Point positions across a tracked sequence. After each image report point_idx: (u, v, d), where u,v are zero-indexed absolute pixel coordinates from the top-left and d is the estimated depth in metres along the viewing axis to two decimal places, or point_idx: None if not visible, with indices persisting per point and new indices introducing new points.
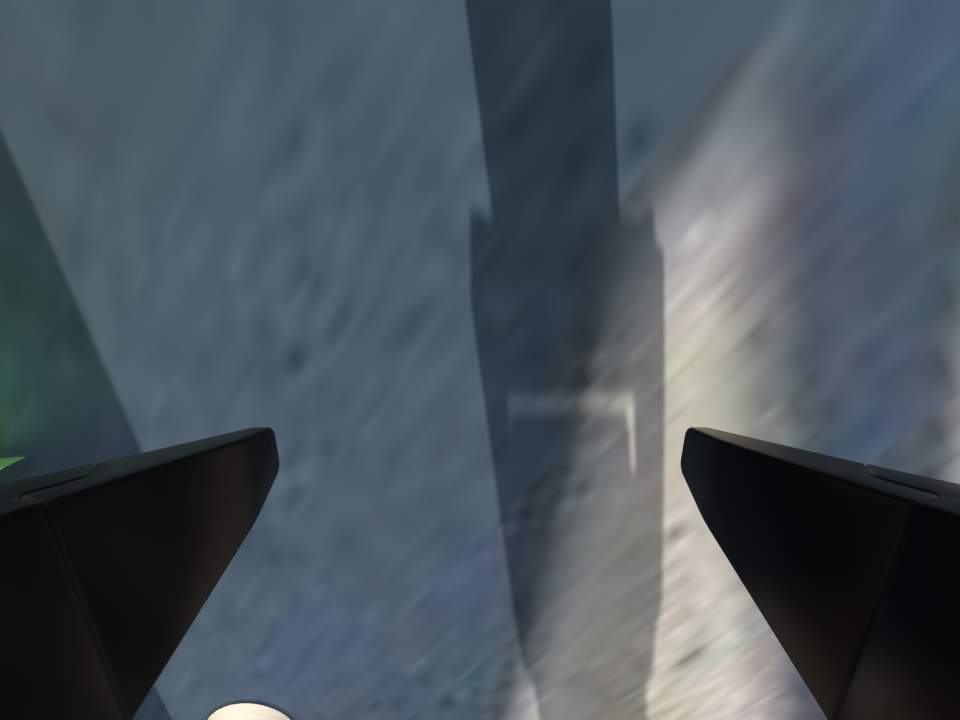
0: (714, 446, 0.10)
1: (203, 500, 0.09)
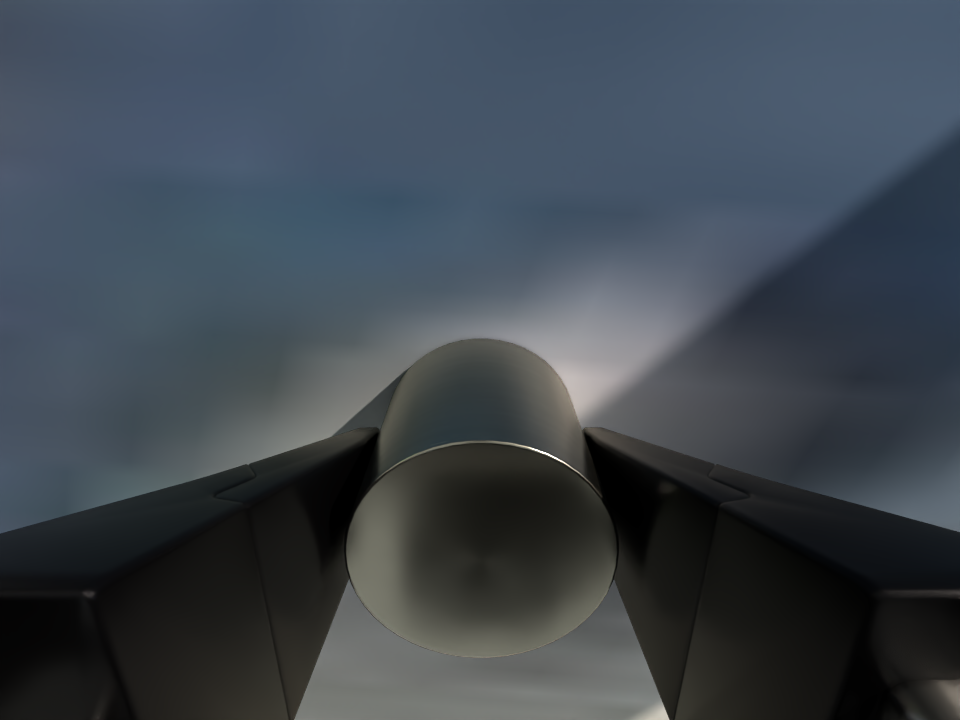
0: (596, 446, 0.10)
1: (340, 500, 0.09)
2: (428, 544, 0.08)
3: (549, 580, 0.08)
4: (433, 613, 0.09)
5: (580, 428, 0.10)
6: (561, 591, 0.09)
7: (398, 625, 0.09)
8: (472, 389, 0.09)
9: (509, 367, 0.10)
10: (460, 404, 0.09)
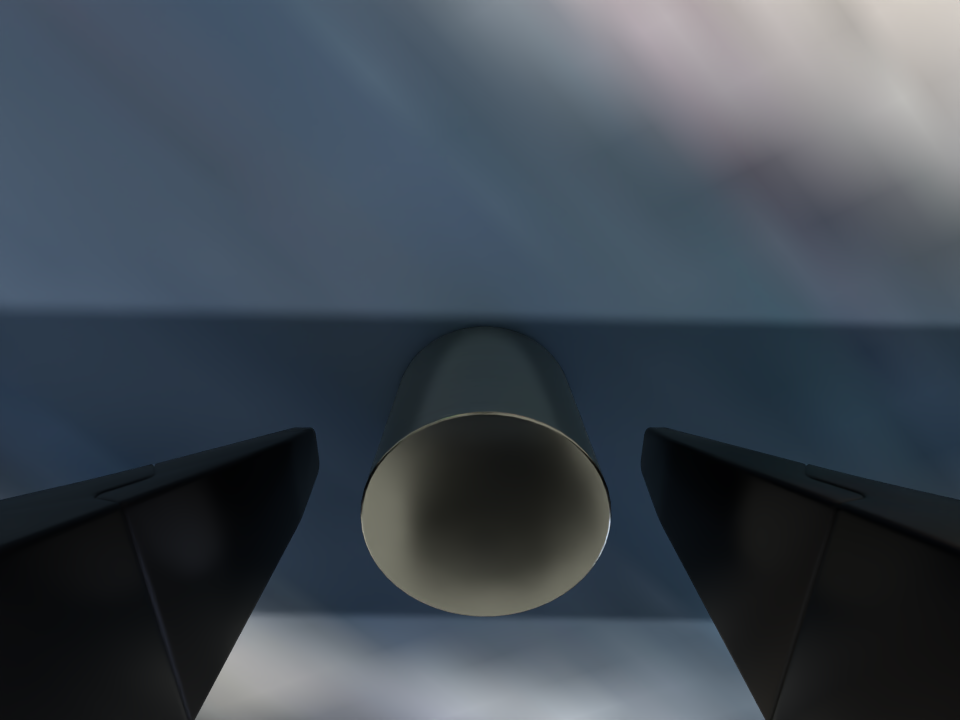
0: (667, 446, 0.10)
1: (256, 500, 0.09)
2: (438, 508, 0.09)
3: (547, 542, 0.09)
4: (441, 574, 0.10)
5: (576, 408, 0.11)
6: (558, 553, 0.09)
7: (409, 585, 0.10)
8: (477, 369, 0.10)
9: (510, 350, 0.11)
10: (466, 382, 0.09)
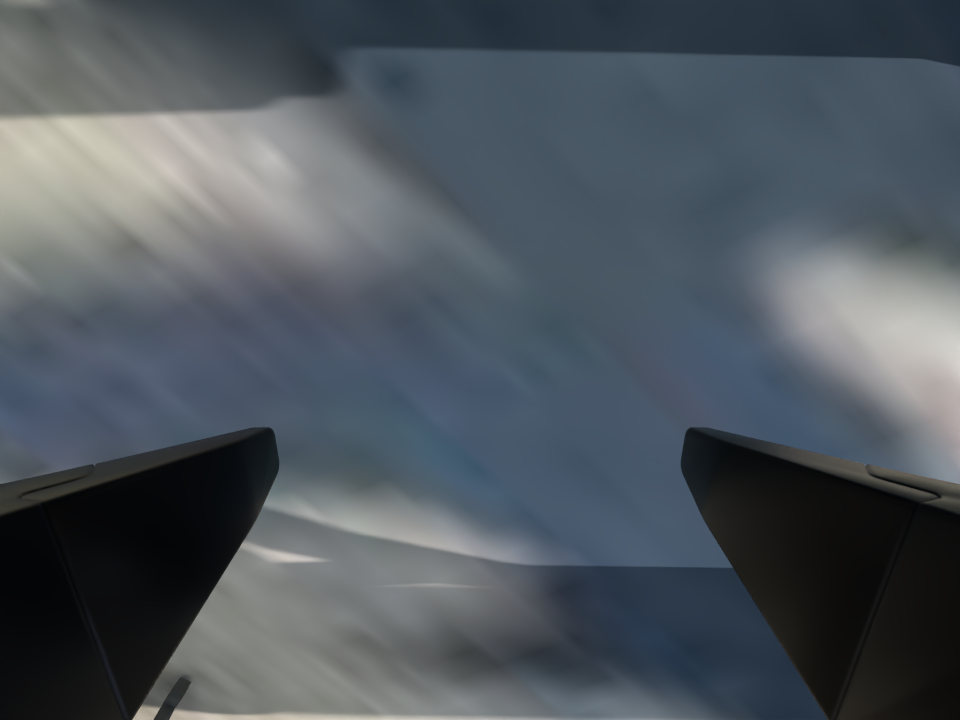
0: (714, 446, 0.10)
1: (203, 500, 0.09)
2: None
3: None
4: None
5: None
6: None
7: None
8: None
9: None
10: None
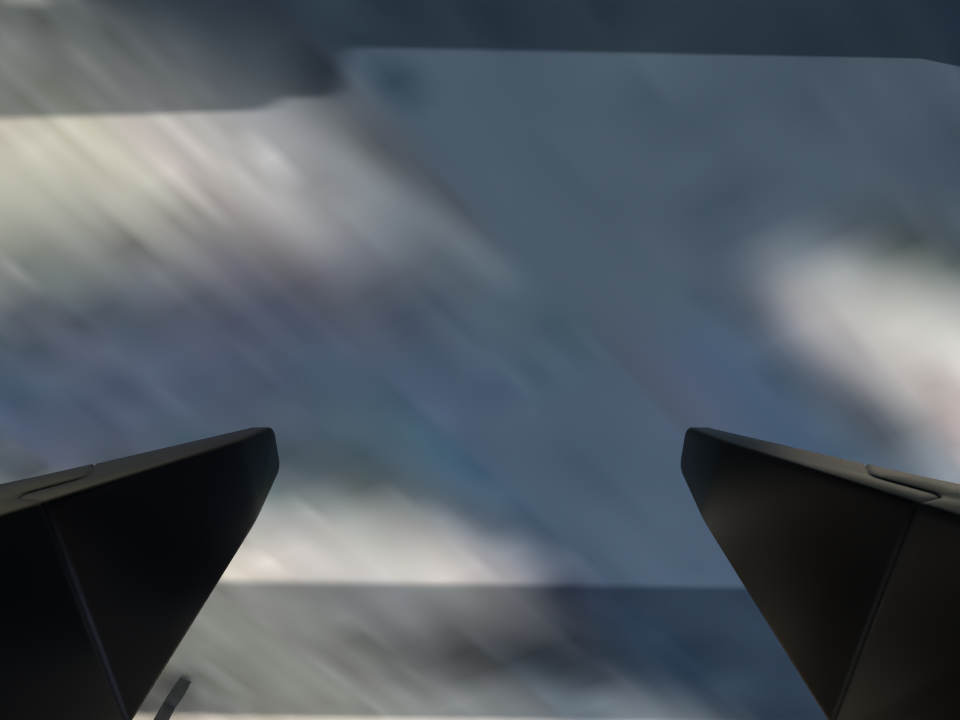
0: (714, 446, 0.10)
1: (203, 500, 0.09)
2: None
3: None
4: None
5: None
6: None
7: None
8: None
9: None
10: None
